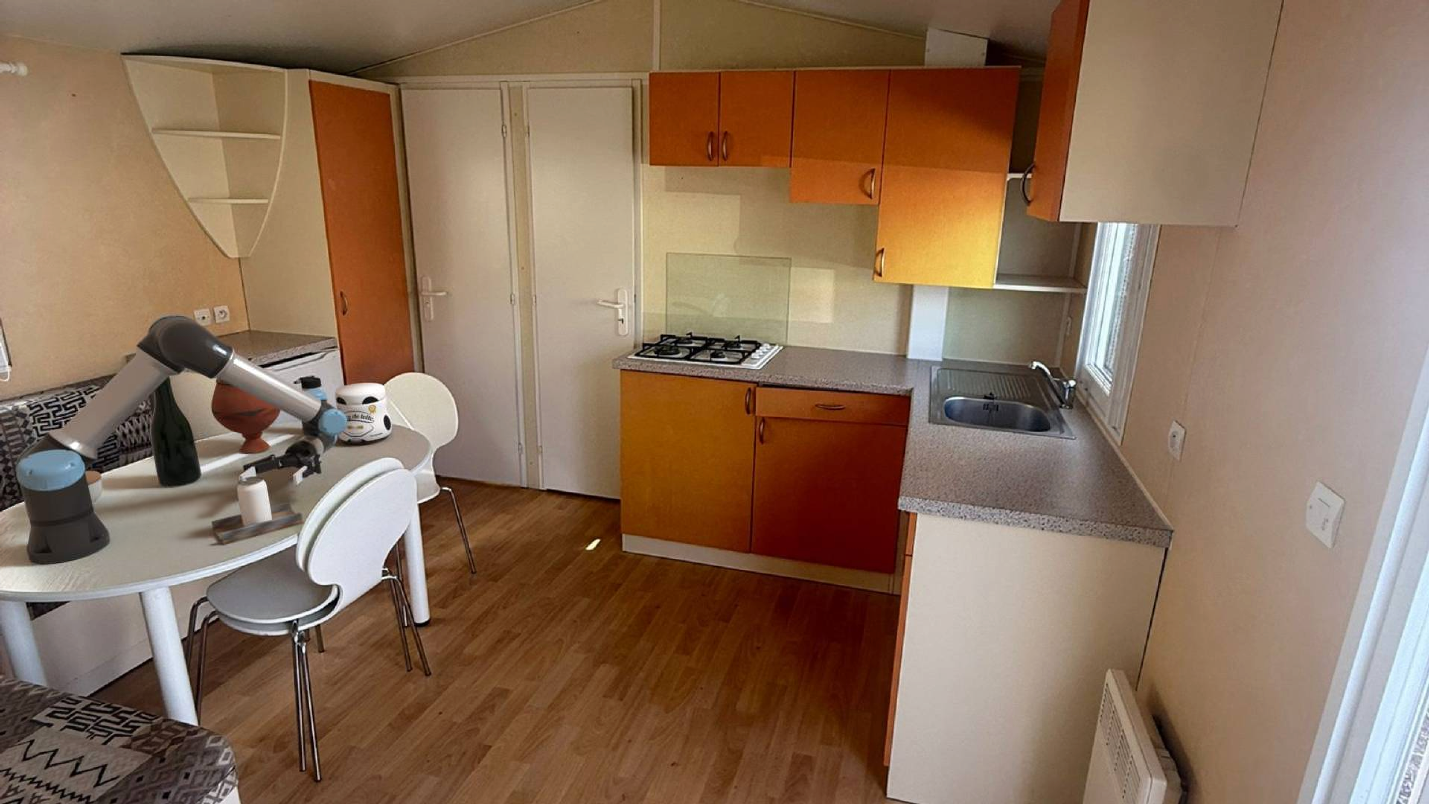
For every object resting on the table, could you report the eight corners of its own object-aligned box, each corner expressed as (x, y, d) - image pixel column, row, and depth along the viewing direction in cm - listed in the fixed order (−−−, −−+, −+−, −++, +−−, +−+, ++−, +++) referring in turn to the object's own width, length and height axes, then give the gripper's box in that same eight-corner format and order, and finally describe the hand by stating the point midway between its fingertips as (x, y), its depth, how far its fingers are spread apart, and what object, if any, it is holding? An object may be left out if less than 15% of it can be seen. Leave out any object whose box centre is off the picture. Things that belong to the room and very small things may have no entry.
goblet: (214, 448, 247) (200, 374, 240) (279, 436, 260) (268, 366, 253) (226, 464, 234) (212, 387, 227) (294, 451, 246) (283, 377, 239)
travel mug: (308, 430, 266) (300, 375, 261) (329, 428, 268) (321, 374, 263) (305, 435, 261) (297, 380, 255) (326, 434, 263) (318, 379, 257)
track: (223, 544, 184) (222, 535, 183) (212, 530, 191) (211, 520, 190) (303, 523, 196) (301, 514, 195) (290, 510, 203) (288, 501, 203)
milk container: (347, 451, 247) (340, 398, 242) (331, 437, 260) (325, 387, 255) (400, 440, 258) (395, 389, 253) (383, 427, 271) (377, 379, 266)
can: (259, 530, 190) (251, 486, 186) (237, 527, 191) (229, 483, 188) (278, 519, 196) (271, 476, 192) (257, 517, 197) (249, 474, 194)
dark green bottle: (200, 471, 228) (181, 366, 219) (203, 482, 220) (182, 373, 211) (158, 478, 222) (136, 370, 213) (159, 490, 214) (136, 378, 205)
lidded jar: (102, 508, 202) (95, 475, 200) (51, 516, 197) (43, 483, 195) (109, 493, 211) (102, 462, 209) (60, 501, 206) (52, 469, 203)
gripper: (350, 463, 221) (319, 492, 200) (261, 464, 219) (221, 494, 198) (346, 439, 218) (315, 466, 198) (257, 440, 217) (216, 467, 196)
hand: (268, 480), depth 198 cm, fingers open, 13 cm apart
